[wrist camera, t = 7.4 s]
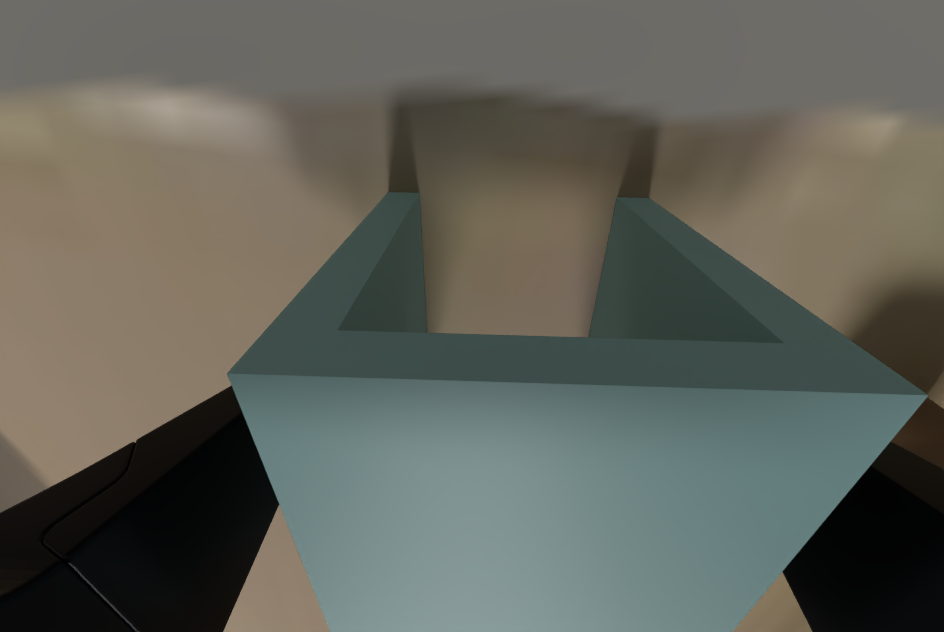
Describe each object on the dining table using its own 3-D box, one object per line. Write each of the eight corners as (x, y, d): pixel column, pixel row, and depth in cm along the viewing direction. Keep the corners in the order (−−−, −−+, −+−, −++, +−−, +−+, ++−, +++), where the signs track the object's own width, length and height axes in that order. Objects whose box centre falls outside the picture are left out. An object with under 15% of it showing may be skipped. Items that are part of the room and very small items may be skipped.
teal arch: (648, 197, 10) (929, 395, 4) (601, 390, 13) (704, 664, 7) (388, 192, 10) (227, 374, 4) (406, 384, 13) (337, 648, 7)
